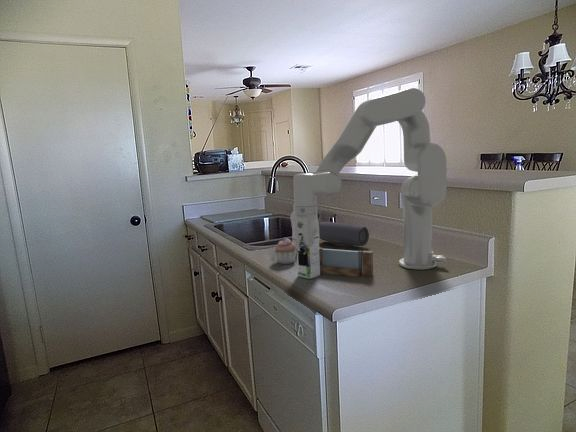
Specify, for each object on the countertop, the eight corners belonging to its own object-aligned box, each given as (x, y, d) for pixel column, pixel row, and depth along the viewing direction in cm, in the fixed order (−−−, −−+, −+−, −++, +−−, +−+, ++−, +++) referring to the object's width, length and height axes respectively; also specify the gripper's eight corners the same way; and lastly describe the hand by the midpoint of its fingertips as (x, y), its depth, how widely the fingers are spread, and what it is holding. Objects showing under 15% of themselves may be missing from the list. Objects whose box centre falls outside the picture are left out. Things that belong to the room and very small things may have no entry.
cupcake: (270, 261, 149) (268, 236, 147) (291, 257, 153) (289, 233, 151) (281, 267, 141) (279, 241, 139) (302, 262, 145) (301, 237, 143)
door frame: (373, 274, 127) (372, 251, 126) (370, 278, 124) (369, 254, 122) (310, 268, 138) (309, 246, 136) (306, 271, 134) (304, 249, 133)
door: (362, 273, 128) (362, 250, 127) (361, 274, 127) (361, 251, 126) (323, 269, 135) (323, 247, 134) (322, 270, 134) (321, 248, 133)
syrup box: (297, 276, 130) (294, 234, 127) (309, 271, 133) (307, 231, 131) (308, 279, 125) (306, 237, 123) (321, 275, 129) (319, 233, 127)
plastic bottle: (290, 252, 161) (288, 205, 158) (293, 248, 168) (290, 203, 164) (305, 251, 160) (303, 205, 157) (307, 247, 167) (305, 202, 163)
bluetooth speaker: (370, 246, 164) (369, 223, 162) (357, 251, 157) (357, 227, 156) (328, 239, 180) (327, 219, 178) (316, 244, 173) (315, 222, 171)
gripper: (305, 215, 116) (307, 270, 119) (326, 207, 132) (327, 256, 135) (283, 214, 120) (286, 268, 123) (306, 206, 135) (308, 254, 138)
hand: (308, 261), depth 129 cm, fingers closed on syrup box, 7 cm apart
